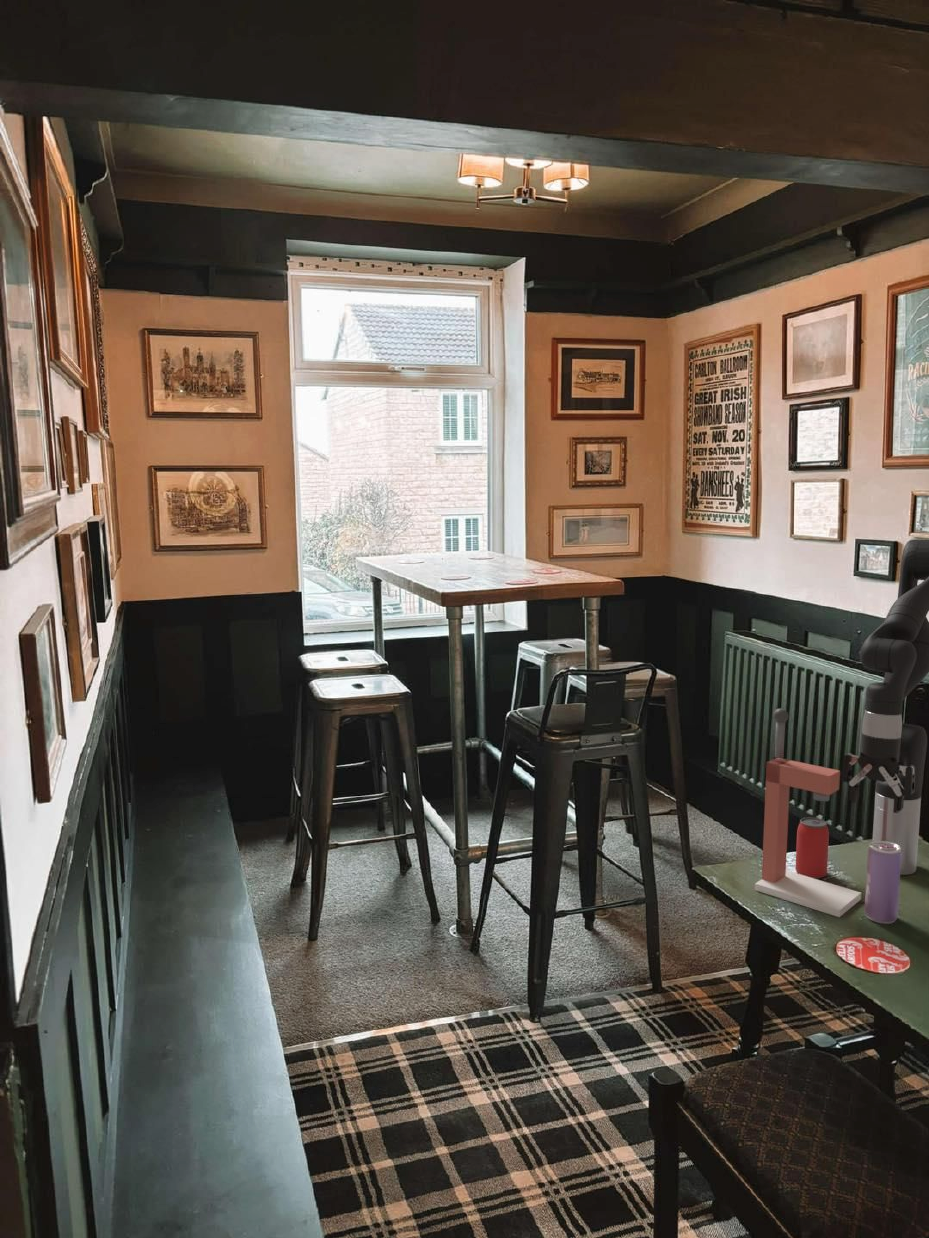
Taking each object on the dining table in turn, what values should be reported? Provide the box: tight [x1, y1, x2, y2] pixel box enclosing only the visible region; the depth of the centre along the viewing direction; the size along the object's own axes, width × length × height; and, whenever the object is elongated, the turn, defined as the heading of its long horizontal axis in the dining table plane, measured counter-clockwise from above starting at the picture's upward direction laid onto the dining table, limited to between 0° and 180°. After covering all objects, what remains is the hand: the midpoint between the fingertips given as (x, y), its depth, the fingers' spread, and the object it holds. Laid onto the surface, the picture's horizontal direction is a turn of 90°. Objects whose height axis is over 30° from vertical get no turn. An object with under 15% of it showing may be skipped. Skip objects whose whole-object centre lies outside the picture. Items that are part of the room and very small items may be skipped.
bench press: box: [754, 708, 862, 918], centre depth 188 cm, size 11×18×39 cm, turn 46°
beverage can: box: [864, 840, 901, 925], centre depth 179 cm, size 6×6×15 cm
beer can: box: [795, 817, 830, 879], centre depth 200 cm, size 7×7×12 cm
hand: (875, 807), depth 192 cm, fingers open, 8 cm apart
